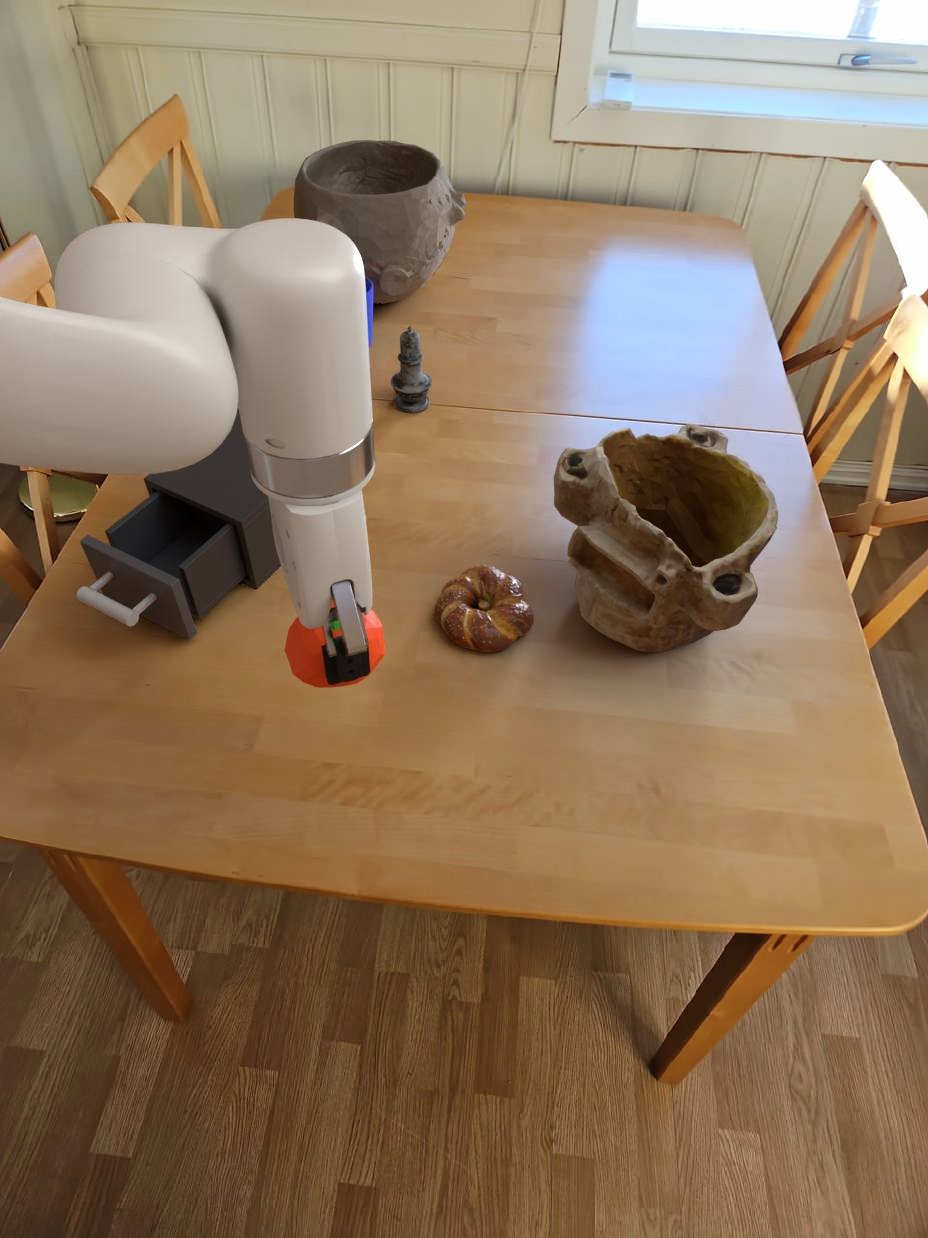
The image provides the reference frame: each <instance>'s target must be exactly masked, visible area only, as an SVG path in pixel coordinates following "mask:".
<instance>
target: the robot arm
mask: <svg viewBox="0 0 928 1238" xmlns="http://www.w3.org/2000/svg"><path fill="white" fill-rule="evenodd" d="M53 283H54V285H53V286H54V287H53V288H54V303H55V308H53V307H48V306H43V305H38V304H33V303H28V302H22V301H18V300H14V299H10V298H6V297H2V296H0V464H4V465H11V466H15V467H16V466H17V467H26V468H35V469H44V470H45V469H47V470H56V471H67V472H76V473H87V474H98V475H99V474H100V475H113V476H115V475H116V476H118V475H119V476H136V475H137V476H139V475H149V474H157V473H163V472H168V471H174V470H178V469H181V468H184V467H187V466H190V465H192V464H195V463H197V462H198V461H200V460H202V459H203V458H205V457H207V456H208V455H210V454H211V453H212V452H213V451H215V450H216V449H217V448H218V447H219V446H220V445H221V444H222V442H223V441H224V440H225V438H226V437H227V435H228V434H229V432H230V431H231V428H232V425H233V423H234V420H235V417H236V414H237V408H238V409H239V414H240V419H241V424H242V431H243V436H244V441H245V446H246V451H247V456H248V461H249V467H250V471H251V476H252V479H253V481H254V483H255V485H256V486H257V487H258V488H259V489H260V490H261V491H262V492H263V493H264V494H266V495H267V496H268V498H269V505H270V512H271V519H272V527H273V535H274V541H275V546H276V550H277V554H278V557H279V560H280V564H281V566H280V568H281V570H282V573H283V576H284V580H285V582H286V585H287V588H288V591H289V595H290V598H291V600H292V604H293V607H294V609H295V613H296V615H297V617H298V618H299V620H300V622H301V624H302V625H303V626H305V627H306V628H308V629H313V628H318V627H322V631H323V635H324V640H325V644H324V645H322V646H321V647H322V654H323V661H324V668H325V675H326V679H327V682H328V684H329V685H334V684H338V683H342V682H350V681H353V680H356V679H358V678H360V677H364V676H367V675H369V676H370V675H371V673H372V672H371V671H370V658H369V644H368V638H367V635H366V630H365V625H364V620H363V615H362V613H364V614H365V615H367V614H368V613H369V611H370V610H372V607H373V577H372V565H371V556H370V555H371V554H370V545H369V538H368V537H369V535H368V527H367V515H366V512H365V511H366V510H365V504H364V503H365V502H364V497H363V488H364V487H366V486H367V484H368V483H369V482H370V481H371V479H372V478H373V476H374V474H375V469H376V458H375V457H376V454H375V436H374V419H373V417H374V416H373V403H372V402H373V401H372V384H371V367H370V365H371V364H370V363H371V362H370V347H369V343H368V324H367V304H366V284H365V274H364V265H363V262H362V258H361V255H360V253H359V251H358V249H357V247H356V246H355V244H354V243H353V242H352V240H351V239H350V238H349V237H348V236H347V235H346V234H344V233H342V232H341V231H339V230H338V229H336V228H334V227H332V226H330V225H328V224H325V223H321V222H318V221H313V220H307V219H297V218H293V217H292V218H291V217H289V218H288V217H285V218H273V219H272V218H271V219H265V220H260V221H255V222H252V223H249V224H247V225H244V226H241V227H238V228H222V227H221V228H218V227H202V226H185V225H177V224H164V223H153V222H152V223H151V222H132V221H131V222H128V221H127V222H113V223H107V224H102V225H100V226H95V227H93V228H90V229H88V230H86V231H84V232H83V233H81V234H79V235H78V236H76V237H75V238H74V239H72V241H71V242H69V244H68V245H67V246H66V248H65V249H64V250H63V252H62V254H61V255H60V257H59V259H58V262H57V265H56V267H55V275H54V282H53ZM332 600H333V602H334V606H335V607H334V608H331V606H332V602H331V601H332ZM333 621H338V622H339V626H340V630H341V634H342V635H341V636H337V637H333V632H332V628H331V623H330V622H333ZM370 672H371V673H370ZM367 677H368V676H367Z"/></svg>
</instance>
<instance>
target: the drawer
mask: <svg viewBox="0 0 928 1238" xmlns="http://www.w3.org/2000/svg"><path fill="white" fill-rule="evenodd" d="M104 533H105V536H106V538H107V540H108V543H109V544H108V543H106V542H104V541H102V540H100V539H97V537H94V536H93V535H89V534H87V535H86V536H84V537H82V538H81V539H80V540H79V544H80V546H81V548H82V550H83V552H84V555H85V556H86V560H87V561H88V564H89V566H90V568H91V570H92V573H93V575H94V577H95V579H96V581H95V582H94V583H92V584H91V585H90V586H87V585H83V586H81V587H80V588H78V590H77V592H76V599H77V600H78V601H80V602H82V603H83V604H85V605H87V606H89V607H91V608H93V609H95V610H97V611H99V612H100V613H103V614H104V615H107V616H108V617H110V618H112V619H114V620H116V621H118V622H119V623H122V624H123V625H126V626H127V627H133V626H136V624H137V623H138V621H139V619H140V616H142V617H144V618H146V619H148V620H150V621H151V622H154V623H156V624H158V625H160V626H162V627H164V628H165V629H167V630H169V631H171V632H173V633H175V634H177V635H179V636H181V637H183V638H185V639H186V640H188V641H191V640H192V639H193V638H194V637H195V636H196V635H197V634H198V631H197V628H196V625H195V622H194V619H193V617H194V618H196V619H198V620H202V618H204V617H205V616H206V615H207V614H208V612H210V611H211V610H212V609H213V608H214V607H215V606H216V605H217V604H219V602H221V601H222V600H223V599H224V598H225V597H226V596H227V595H228V594H229V593H231V591H232V590H233V589H234V588H236V587H237V586H238V585H239V583H241V581H242V580H243V579H244V578H245V577H246V576H247V575H248V571H247V567H246V563H245V558H244V554H243V550H242V546H241V542H240V538H239V534H238V530H237V525H234V524H232V523H230V522H228V521H225V520H223V519H221V518H219V517H217V516H214V515H212V514H210V513H208V512H205V511H203V510H201V509H199V508H196V507H194V506H192V505H190V504H188V503H185V502H183V501H181V500H179V499H176V498H174V497H172V496H170V495H167V494H165V493H163V492H161V491H159V490H157V491H156V492H154V493H153V494H152V495H151V496H149V495H148V497H146V498H145V499H144V500H143V501H141V502H140V503H139V504H138V505H136V506H135V507H133V508H132V509H131V510H130V511H128V512H127V513H126V514H125V515H124V516H122V517H121V518H119V519H118V520H116V521H115V522H114V523H113V524H112V525H111V526H109V527H108V528H106V530H104ZM99 590H100V591H101V592H98V591H99Z"/></svg>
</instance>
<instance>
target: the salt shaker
mask: <svg viewBox="0 0 928 1238" xmlns="http://www.w3.org/2000/svg"><path fill="white" fill-rule="evenodd" d="M421 345H422V344H421V335H420V333H418V332H417V331H415V330H413V327H412V326H411V325H409V326H408V327H407V330H405V331H403V332H402V333H401V334H400V336H399V349H400V350H399V351H400V352H399V353H398V355H397V360H398V361H399V366H400V367H399V368H400V369H399V371H398V372H396V373H395V374H393V375H392V377H390V385H391V387H392V389H393V391H394V393H395V395H396V396H395V397H394V398H393V405H394V406H393V407H394V408H396V410H398V411H400V412H401V413H406V414H418V413H422V412H424V411H425V410H427V409H428V408H429V407H430V405H431V400H430V398H429V396H427V395H428V394H429V391H430V388H431V386H432V384H433V379H432V377H431V376H430V375H429V374H428V373H426V372H425V371H423V370H422V361H423V360H424V354H423V353H422V352H421V351H422V349H421V347H422V346H421Z"/></svg>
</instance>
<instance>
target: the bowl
mask: <svg viewBox="0 0 928 1238" xmlns="http://www.w3.org/2000/svg"><path fill="white" fill-rule="evenodd" d="M466 203H467V200H466V198H465V195H464V193H461V192H458V191H456V190H455V189H454V187H453V186H452V183H451V181H450V178H449V175H448V173H447V171H446V169H445V167H444V165H443V163H442V161H441V160H440V159H439V158H438V157H437V156H436V154H434V152H432V151H430V150H428V149H425V148H424V147H422V146H419V145H416V144H411V143H404V142H401V141H397V140H383V139H382V140H374V139H373V140H371V139H358V140H357V139H355V140H354V139H353V140H349V141H342V142H339V143H336V144H335V143H334V144H332V145H329V146H326V147H323V148H321V149H318V150H316V151H315V152H313V153H311V154H310V155H308V156H307V157H305V158H304V160H303V162H302V163H301V165H300V168H299V170H298V172H297V175H296V177H295V180H294V189H293V215H294V216H293V217H294V218H297V219H307V220H313V221H318V222H321V223H325V224H328V225H330V226H332V227H334V228H336V229H338V230H339V231H341V232H342V233H344V234H346V235H347V236H348V237H349V238H350V239H351V240H352V242H353V243H354V244H355V246H356V247H357V249H358V251H359V253H360V255H361V258H362V262H363V265H364V274H365V277H367V278H368V279H370V280H371V282H372V283H373V304H379V303H381V304H388V303H396V302H399V301H402V300H405V299H408V298H410V297H411V296H413V295H415V294H416V293H417V292H419V291H420V290H421V289H423V287H424V286H425V285H426V284H428V283H429V282H430V280H431V279H432V277H433V276H434V275H435V273H436V272H437V271H438V269H440V268H441V266H442V264H443V262H444V260H445V259H446V257H447V255H448V252H449V250H450V249H451V244H452V241H453V237H454V234H455V231H456V230H455V229H456V228H457V225H458V223H459V222H460V221H463V220H465V218H466V213H465V210H464V208H465V207H466ZM407 297H408V298H407ZM381 304H380V305H381Z"/></svg>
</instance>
